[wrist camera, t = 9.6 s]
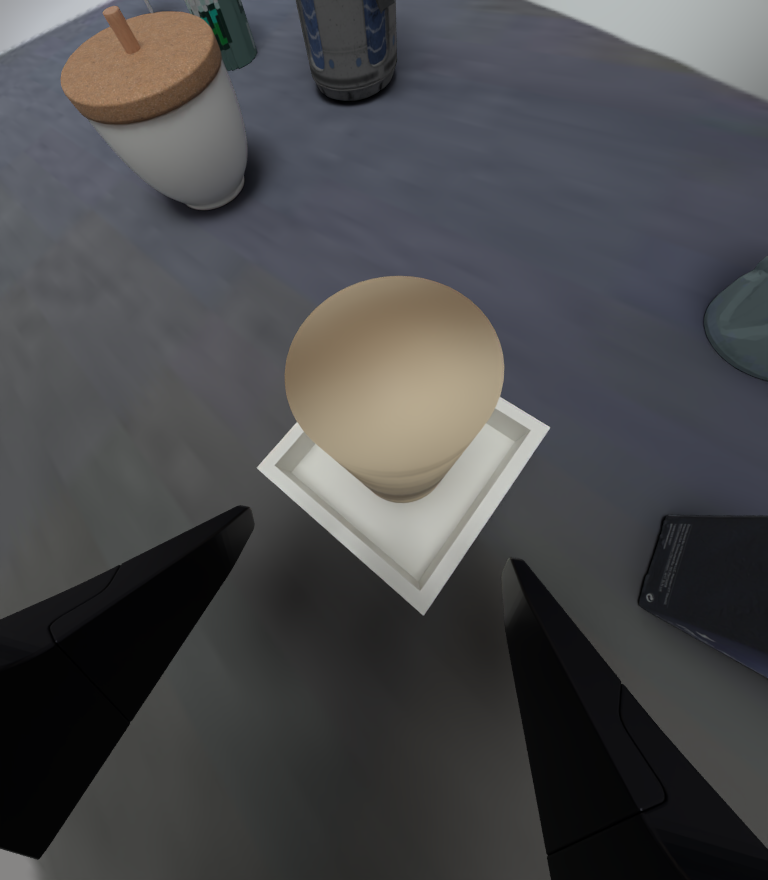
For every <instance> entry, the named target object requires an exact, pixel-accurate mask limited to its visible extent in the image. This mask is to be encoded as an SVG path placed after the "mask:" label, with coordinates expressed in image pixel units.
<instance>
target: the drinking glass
mask: <svg viewBox="0 0 768 880" xmlns="http://www.w3.org/2000/svg"><path fill="white" fill-rule="evenodd" d="M704 326H705V332H706V335H707V337H708V339H709V341H710V343H711V344H712V346H713V348H714V349H715V350H716V351H717V353H718V354H719V355H720V356H721V357H723V358H724V359H725V360H726V361H727V362H728V363H730V364H731V365H732V366H734V367H735V368H737V369H739V370H740V371H743V372H745V373H747V374H749V375H751V376H754V377H757V378H759V379H763V380H767V381H768V256H766V257H765V258H764V259H763V260H762V261H761V262H759V263H758V265H757V266H756V268H755V269H754V270H753V271H751V272H749V273H747V274H745V275H743V276H741V277H740V278H739V279H737V280H736V281H735V282H734V283H732V284H731V285H730V286H728V287H727V288H726V289H725V290H723V291H722V292H721V293H720V294H719V295H718V296H717V297H716V298H715V299H714V300H713V301H712V302H711V303H710V305H709V306H708V308H707V310H706V313H705V317H704Z"/></svg>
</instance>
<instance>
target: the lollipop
mask: <svg viewBox="0 0 768 880" xmlns="http://www.w3.org/2000/svg"><path fill="white" fill-rule="evenodd" d="M144 1H145V3H146V5H147V7H148V9H149V11H150V13H154V12H153V10H152V8H151V6H150V4H149V2H148V0H144Z"/></svg>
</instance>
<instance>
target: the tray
mask: <svg viewBox="0 0 768 880" xmlns="http://www.w3.org/2000/svg"><path fill="white" fill-rule="evenodd" d="M549 429H550V427H549V426H547V425H545V424H544V423H542V422H540V421H539V420H537V419H535V418H534V417H532V416H530V415H529V414H527V413H526V412H524V411H522V410H521V409H519V408H517V407H516V406H514V405H512V404H511V403H509V402H507V401H506V400H504V399H503V398H501V397H499V400H498V402H497V405H496V407H495V409H494V411H493V413H492V415H491V417H490V418H489V420H488V421H487V423H486V424H485V425H484V427H483V428H482V429H481V431H480V432H479V433H478V434H477V436H476V437H475V438H474V439H473V441H472V442H471V443H470V445H469V446H468V447H467V448H466V450H465V451H464V452H463V453H462V455H461V456H460V457H459V459H458V460H457V461H456V462H455V464H454V465H453V466H452V467H451V469H450V470H449V471H448V473H447V474H446V475H445V476H444V478H443V479H442V480H441V481H440V483H439V484H438V485H437V487H436V488H435V489H434V490H433V491H432V492H431V493H429V494H428V495H427V496H425V497H423V498H422V499H419V500H417V501H413V502H409V503H395V502H390V501H387V500H385V499H382V498H380V497H379V496H377V495H376V494H374V493H373V492H372V491H371V490H370V489H368V488H367V487H366V486H365V485H364V484H363V483H361V482H360V481H359V480H358V479H357V478H355V477H354V476H353V475H352V474H351V473H350V472H348V471H347V470H346V469H345V468H344V467H342V466H341V465H340V464H339V463H338V462H337V461H335V460H334V459H333V458H332V457H331V456H329V455H328V454H327V453H326V452H325V451H324V450H322V449H321V448H320V447H319V446H318V445H316V444H315V443H314V442H313V441H312V440H311V439H310V438H309V437H308V436H307V434H306V433H305V432H304V431H303V430H302V428H301V427H300V425H299V424H298V422H297V423H296V424H295V425H294V426H293V427H292V428H291V430H290V431H289V432H288V433H287V434H286V435H285V436H284V438H283V439H282V440H281V441H280V442H279V443H278V444H277V445H276V447H275V448H274V449H273V450H272V451H271V452H270V453H269V454H268V456H267V457H266V458H265V459H264V460H263V461H262V462H261V463H260V465H259V466H258V467H257V469H259V470H260V471H261V472H262V473H263V474H264V475H265V476H266V477H268V478H269V479H270V480H271V481H272V482H273V483H274V484H275V485H277V486H278V487H279V488H280V489H281V490H282V491H283V492H284V493H286V494H287V495H288V496H289V497H290V498H291V499H292V500H293V501H295V502H296V503H297V504H298V505H299V506H300V507H301V508H302V509H304V510H305V511H306V512H307V513H308V514H309V515H310V516H311V517H313V518H314V519H315V520H316V521H317V522H318V523H319V524H321V525H322V526H323V527H324V528H325V529H326V530H327V531H328V532H330V533H331V534H332V535H333V536H334V537H335V538H336V539H337V540H339V541H340V542H341V543H342V544H343V545H344V546H345V547H346V548H348V549H349V550H350V551H351V552H352V553H353V554H354V555H355V556H357V557H358V558H359V559H360V560H361V561H362V562H363V563H364V564H366V565H367V566H368V567H369V568H370V569H371V570H372V571H374V572H375V573H376V574H377V575H378V576H379V577H380V578H381V579H383V580H384V581H385V582H386V583H387V584H388V585H389V586H390V587H392V588H393V589H394V590H395V591H396V592H397V593H398V594H399V595H401V596H402V597H403V598H404V599H405V600H406V601H407V602H408V603H410V604H411V605H412V606H413V607H414V608H415V609H416V610H417V611H419V612H420V613H421V614H422V615H423V616H424V615H425V613H426V612H427V610H428V609H429V607H430V606H431V604H432V603H433V601H434V600H435V598H436V597H437V595H438V594H439V592H440V591H441V589H442V588H443V586H444V585H445V583H446V582H447V580H448V579H449V577H450V576H451V574H452V573H453V571H454V570H455V568H456V567H457V565H458V564H459V563H460V561H461V560H462V558H463V557H464V555H465V554H466V552H467V551H468V549H469V548H470V546H471V545H472V543H473V542H474V540H475V539H476V537H477V536H478V534H479V533H480V531H481V530H482V528H483V527H484V525H485V524H486V522H487V521H488V519H489V518H490V516H491V515H492V513H493V512H494V511H495V509H496V508H497V506H498V505H499V503H500V502H501V500H502V499H503V497H504V496H505V494H506V493H507V491H508V490H509V488H510V487H511V485H512V484H513V482H514V481H515V479H516V478H517V476H518V475H519V473H520V472H521V470H522V469H523V467H524V466H525V464H526V463H527V462H528V460H529V459H530V457H531V456H532V454H533V453H534V451H535V450H536V448H537V447H538V445H539V444H540V442H541V441H542V439H543V438H544V436H545V435H546V433H547V432H548V430H549Z"/></svg>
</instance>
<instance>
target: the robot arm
mask: <svg viewBox="0 0 768 880" xmlns="http://www.w3.org/2000/svg"><path fill="white" fill-rule="evenodd" d="M253 529H254V519H253V514H252V510H251V508H250V507H247V506H241V505H239V506H236V507H234V508H232V509H230V510H228V511H226V512H224V513H222V514H220V515H218V516H216V517H214V518H212V519H210V520H208V521H206V522H204V523H202V524H200V525H198V526H196V527H194V528H192V529H190V530H188V531H186V532H184V533H182V534H180V535H178V536H176V537H174V538H172V539H170V540H168V541H166V542H164V543H162V544H160V545H158V546H156V547H154V548H152V549H150V550H148V551H146V552H144V553H142V554H140V555H138V556H136V557H134V558H132V559H130V560H128V561H126V562H124V563H122V564H121V565H118V566H116V567H114V568H112V569H110V570H108V571H106V572H104V573H102V574H100V575H98V576H96V577H94V578H92V579H90V580H88V581H86V582H83V583H81V584H79V585H77V586H75V587H73V588H70V589H68V590H66V591H64V592H62V593H59V594H57V595H55V596H53V597H50V598H48V599H46V600H44V601H41V602H39V603H37V604H35V605H32V606H30V607H28V608H25V609H23V610H21V611H19V612H16V613H14V614H12V615H10V616H7V617H5V618H3V619H1V620H0V849H3V850H6V851H10V852H13V853H16V854H20V855H23V856H27V857H30V858H33V859H37V860H38V859H40V858H41V856H42V855H43V854H44V852H45V851H46V849H47V848H48V847H49V845H50V844H51V842H52V841H53V839H54V838H55V836H56V835H57V833H58V832H59V830H60V829H61V827H62V826H63V824H64V823H65V821H66V820H67V818H68V817H69V815H70V814H71V812H72V811H73V809H74V808H75V806H76V805H77V803H78V802H79V800H80V799H81V797H82V796H83V794H84V792H85V791H86V789H87V788H88V786H89V785H90V783H91V782H92V780H93V779H94V777H95V776H96V774H97V773H98V771H99V770H100V768H101V767H102V765H103V764H104V762H105V761H106V759H107V758H108V756H109V755H110V753H111V752H112V750H113V749H114V747H115V746H116V744H117V743H118V741H119V740H120V738H121V737H122V735H123V734H124V732H125V731H126V729H127V728H128V726H129V725H130V722H131V721H132V720H133V718H134V717H135V715H136V714H137V712H138V711H139V709H140V708H141V706H142V705H143V703H144V702H145V700H146V699H147V697H148V696H149V694H150V693H151V691H152V690H153V688H154V686H155V685H156V683H157V682H158V680H159V679H160V677H161V676H162V674H163V673H164V671H165V670H166V668H167V667H168V665H169V664H170V662H171V661H172V659H173V658H174V656H175V655H176V653H177V652H178V650H179V649H180V647H181V646H182V644H183V643H184V641H185V640H186V638H187V637H188V635H189V634H190V632H191V631H192V629H193V628H194V626H195V625H196V623H197V622H198V620H199V619H200V617H201V616H202V614H203V613H204V611H205V610H206V608H207V606H208V605H209V603H210V602H211V600H212V599H213V597H214V596H215V594H216V593H217V591H218V590H219V588H220V587H221V585H222V584H223V582H224V581H225V579H226V578H227V576H228V575H229V573H230V572H231V570H232V568H233V567H234V565H235V563H236V561H237V559H238V557H239V556H240V554H241V552H242V550H243V548H244V546H245V544H246V542H247V541H248V539H249V537H250V535H251V533H252V531H253ZM501 584H502V597H503V610H504V622H505V632H506V638H507V644H508V649H509V654H510V660H511V665H512V671H513V676H514V681H515V687H516V692H517V698H518V703H519V708H520V714H521V719H522V724H523V730H524V735H525V741H526V746H527V751H528V757H529V762H530V768H531V773H532V778H533V784H534V789H535V794H536V800H537V805H538V811H539V816H540V821H541V827H542V832H543V838H544V843H545V848H546V853H547V855H548V856H547V860H548V866H549V871H550V876H551V880H768V849H767V848H766V847H765V846H764V845H763V843H762V842H761V841H760V840H759V839H758V838H757V837H756V836H755V835H754V833H753V832H752V831H751V830H750V829H749V828H748V827H747V826H746V825H745V823H744V822H743V821H742V820H741V819H740V818H739V817H738V816H737V815H736V813H735V812H734V811H733V810H732V809H731V808H730V807H729V806H728V804H727V803H726V802H725V801H724V800H723V799H722V798H721V797H720V796H719V794H718V793H717V792H716V791H715V790H714V789H713V788H712V787H711V786H710V784H709V783H708V782H707V781H706V780H705V779H704V778H703V777H702V776H701V774H700V773H699V772H698V771H697V770H696V769H695V768H694V767H693V766H692V764H691V763H690V762H689V761H688V760H687V759H686V758H685V757H684V755H683V754H682V753H681V752H680V751H679V750H678V749H677V747H676V746H675V745H674V744H673V743H672V742H671V741H670V739H669V738H668V737H667V736H666V735H665V734H664V733H663V731H662V730H661V729H660V728H659V727H658V725H657V724H656V723H655V722H654V721H653V719H652V718H651V717H650V716H649V715H648V713H647V712H646V711H645V710H644V709H643V707H642V706H641V705H640V704H639V703H638V701H637V700H636V699H635V698H634V696H633V695H632V694H631V693H630V691H629V690H628V689H627V688H626V686H625V685H624V684H621V681H620V679H619V678H618V677H617V675H616V674H615V673H614V672H613V671H612V669H611V668H610V667H609V666H608V664H607V663H606V662H605V661H604V659H603V658H602V657H601V656H600V654H599V653H598V652H597V651H596V649H595V648H594V647H593V646H592V644H591V643H590V642H589V641H588V639H587V638H586V637H585V636H584V635H583V633H582V632H581V631H580V630H579V628H578V627H577V626H576V625H575V623H574V622H573V621H572V620H571V618H570V617H569V616H568V615H567V613H566V612H565V611H564V610H563V608H562V607H561V606H560V605H559V603H558V602H557V601H556V600H555V599H554V597H553V596H552V595H551V594H550V592H549V591H548V590H547V589H546V587H545V586H544V585H543V584H542V582H541V581H540V580H539V579H538V577H537V576H536V575H535V574H534V572H533V571H532V570H531V569H530V567H529V566H528V565H527V564H526V563H525V561H523V560H522V559H518V558H512V557H510V558H509V559H508V560H507V562H506V565H505V567H504V570H503V572H502V576H501Z"/></svg>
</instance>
